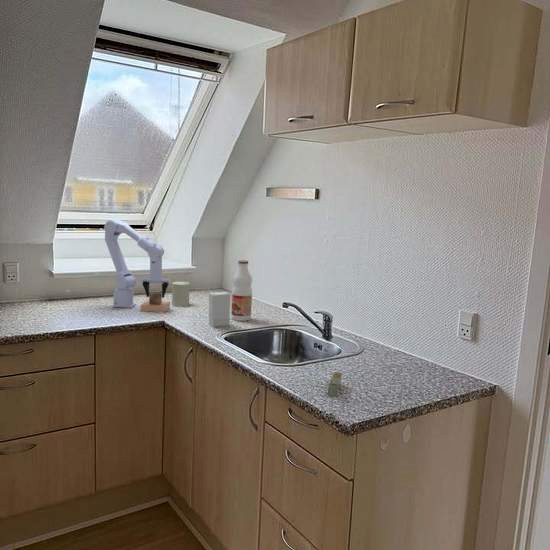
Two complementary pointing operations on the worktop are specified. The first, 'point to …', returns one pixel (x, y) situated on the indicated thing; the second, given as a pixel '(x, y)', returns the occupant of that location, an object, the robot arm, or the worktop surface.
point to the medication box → (334, 384)
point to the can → (180, 293)
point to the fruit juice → (241, 293)
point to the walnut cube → (155, 298)
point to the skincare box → (219, 309)
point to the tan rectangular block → (155, 306)
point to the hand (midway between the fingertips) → (155, 297)
